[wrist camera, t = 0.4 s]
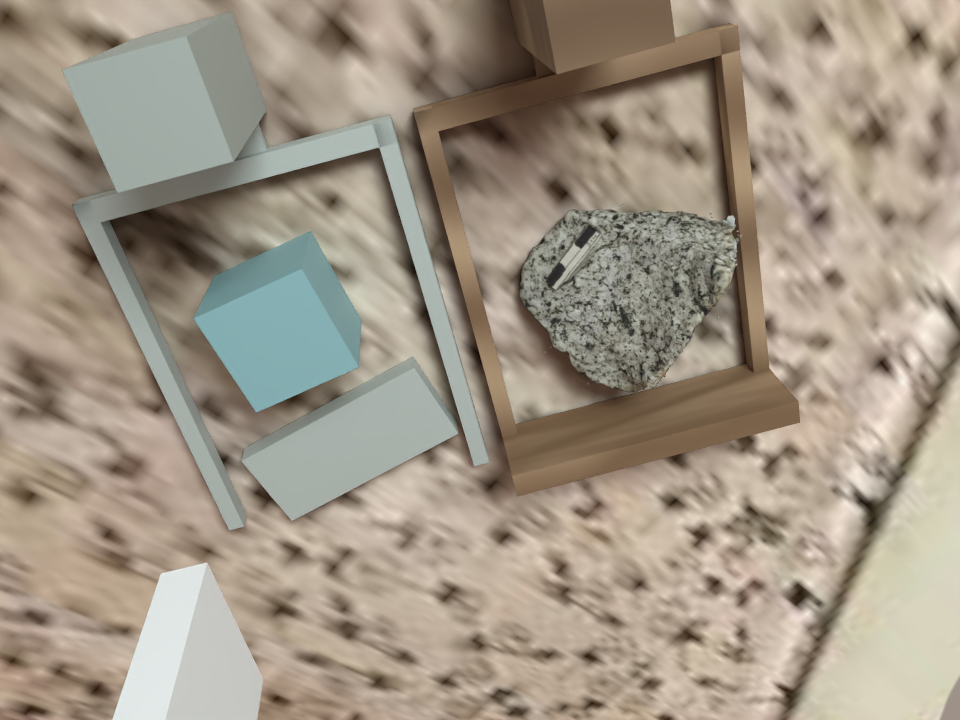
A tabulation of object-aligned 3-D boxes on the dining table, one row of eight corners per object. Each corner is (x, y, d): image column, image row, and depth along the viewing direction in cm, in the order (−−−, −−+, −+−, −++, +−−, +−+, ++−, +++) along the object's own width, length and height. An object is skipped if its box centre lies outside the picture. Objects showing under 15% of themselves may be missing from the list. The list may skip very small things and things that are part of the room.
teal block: (214, 275, 39) (193, 318, 35) (311, 230, 39) (301, 268, 34) (270, 361, 42) (256, 412, 37) (361, 319, 41) (358, 366, 37)
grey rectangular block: (244, 448, 44) (241, 461, 42) (413, 356, 42) (414, 367, 41) (294, 507, 45) (291, 521, 44) (456, 421, 44) (458, 433, 43)
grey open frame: (17, 70, 34) (-93, 112, 26) (351, -21, 34) (342, -7, 26) (232, 518, 45) (199, 645, 37) (487, 451, 45) (509, 564, 37)
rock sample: (541, 167, 35) (692, 317, 32) (649, 127, 39) (790, 256, 37) (461, 324, 42) (579, 456, 40) (561, 275, 47) (671, 391, 44)
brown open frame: (375, -28, 34) (373, -15, 26) (715, -121, 34) (818, -137, 26) (505, 447, 45) (532, 559, 37) (763, 379, 45) (846, 477, 37)
